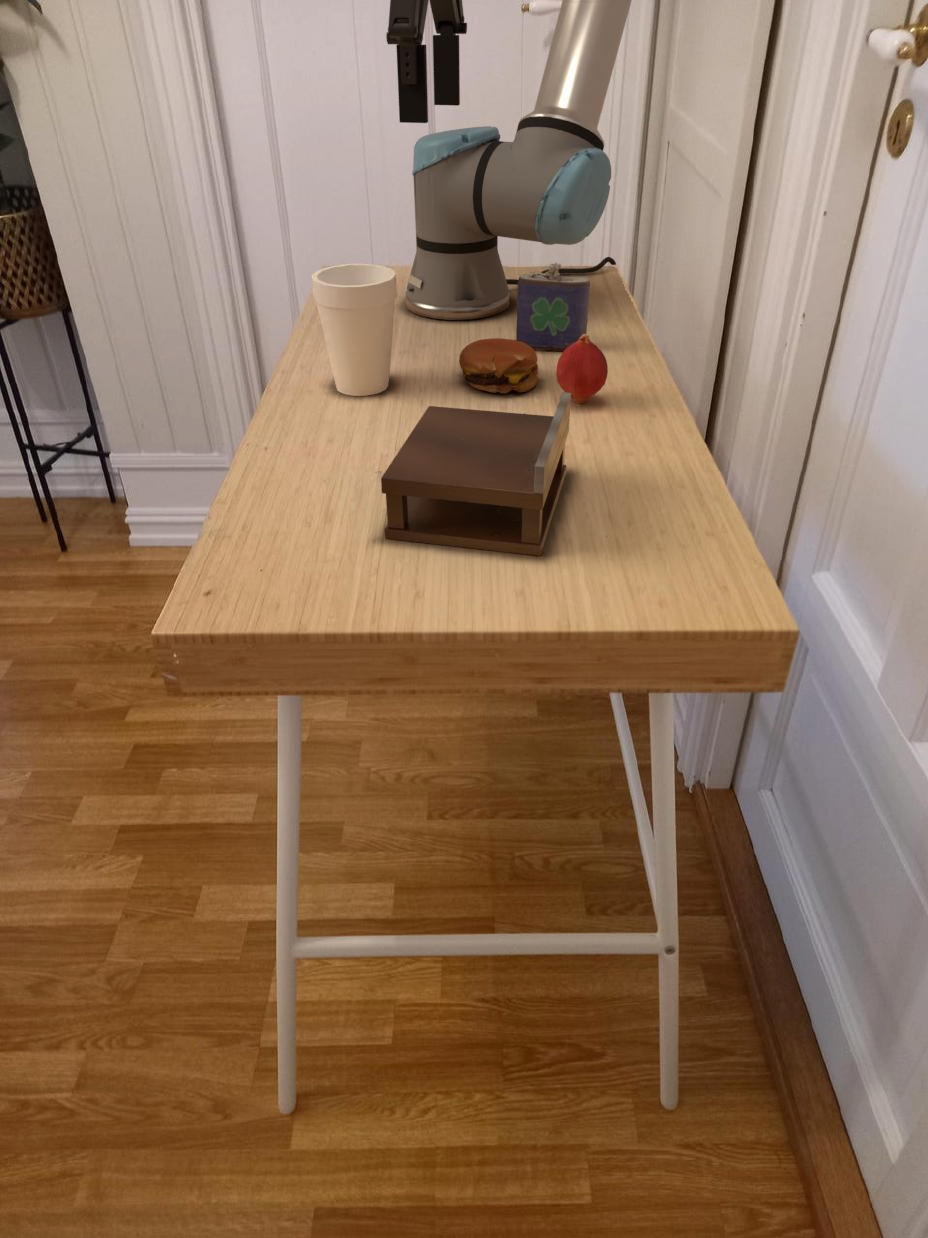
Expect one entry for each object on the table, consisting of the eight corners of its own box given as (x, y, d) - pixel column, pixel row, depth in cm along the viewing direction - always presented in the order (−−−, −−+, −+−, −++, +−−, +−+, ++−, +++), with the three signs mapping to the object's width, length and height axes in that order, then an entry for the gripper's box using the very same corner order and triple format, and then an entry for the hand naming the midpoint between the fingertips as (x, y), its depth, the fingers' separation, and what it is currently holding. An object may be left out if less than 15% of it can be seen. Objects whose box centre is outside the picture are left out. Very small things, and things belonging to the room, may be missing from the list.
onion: (548, 394, 110) (551, 327, 105) (595, 390, 111) (600, 323, 106) (563, 414, 105) (567, 344, 100) (611, 409, 106) (617, 340, 101)
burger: (486, 362, 118) (486, 325, 116) (551, 376, 114) (553, 339, 112) (443, 388, 112) (443, 349, 109) (511, 404, 108) (512, 365, 105)
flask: (586, 346, 123) (592, 261, 117) (584, 353, 121) (589, 268, 115) (517, 341, 125) (519, 258, 119) (513, 349, 123) (515, 264, 116)
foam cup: (388, 403, 108) (382, 289, 100) (312, 398, 109) (300, 284, 102) (409, 373, 115) (404, 265, 108) (337, 369, 117) (327, 261, 109)
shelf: (430, 460, 96) (427, 381, 91) (566, 473, 93) (571, 392, 88) (384, 538, 83) (378, 450, 78) (540, 556, 80) (544, 466, 75)
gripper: (421, -139, 95) (427, 97, 108) (340, -164, 76) (359, 129, 88) (492, -141, 94) (490, 99, 106) (430, -167, 74) (436, 131, 87)
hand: (431, 113), depth 97 cm, fingers open, 13 cm apart
